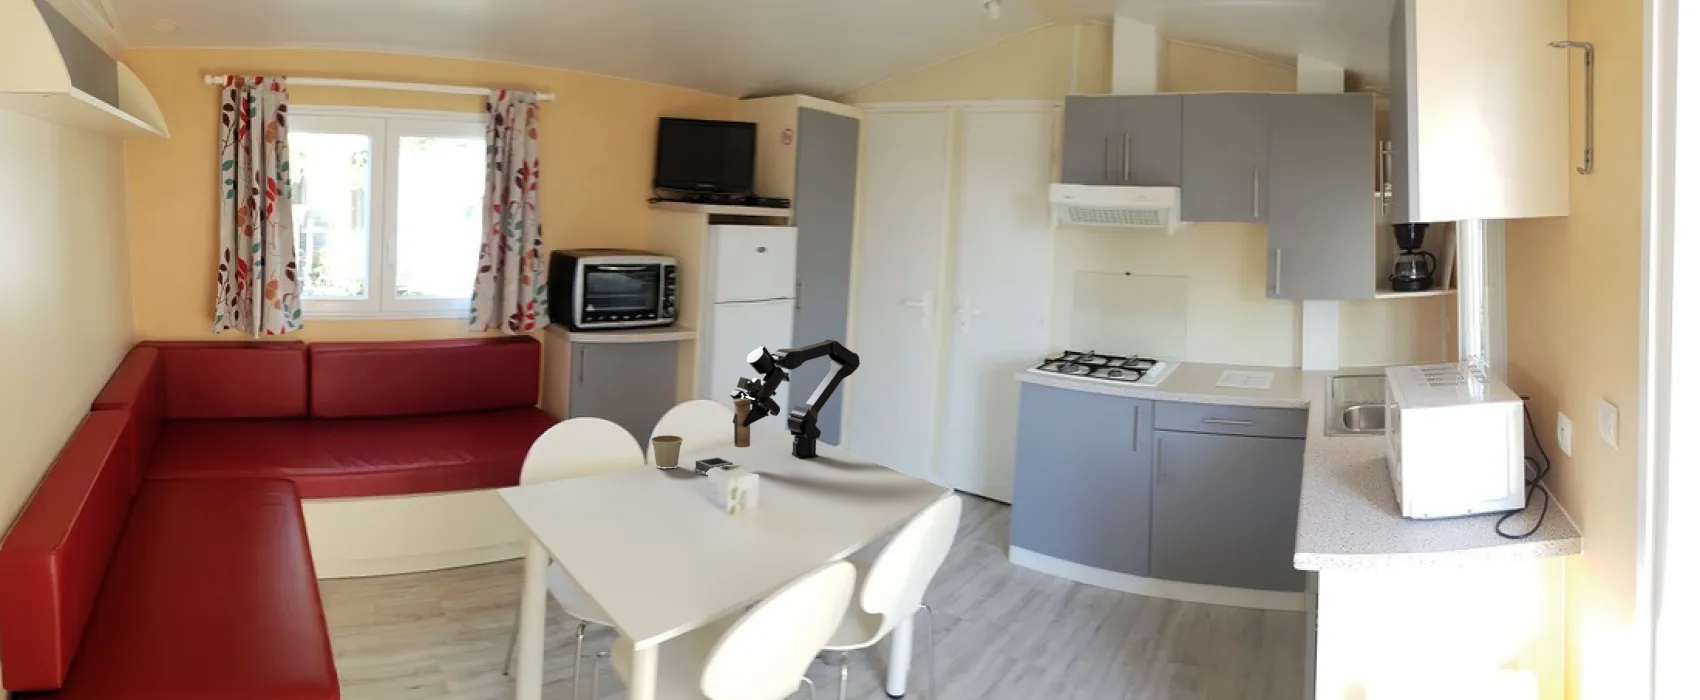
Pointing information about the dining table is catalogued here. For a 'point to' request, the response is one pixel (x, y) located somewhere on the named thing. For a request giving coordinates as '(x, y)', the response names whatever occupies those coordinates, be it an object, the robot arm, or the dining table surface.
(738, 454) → the dining table surface
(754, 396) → the robot arm
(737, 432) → the brown tapered domed piece
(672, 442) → the flower pot
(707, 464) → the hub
